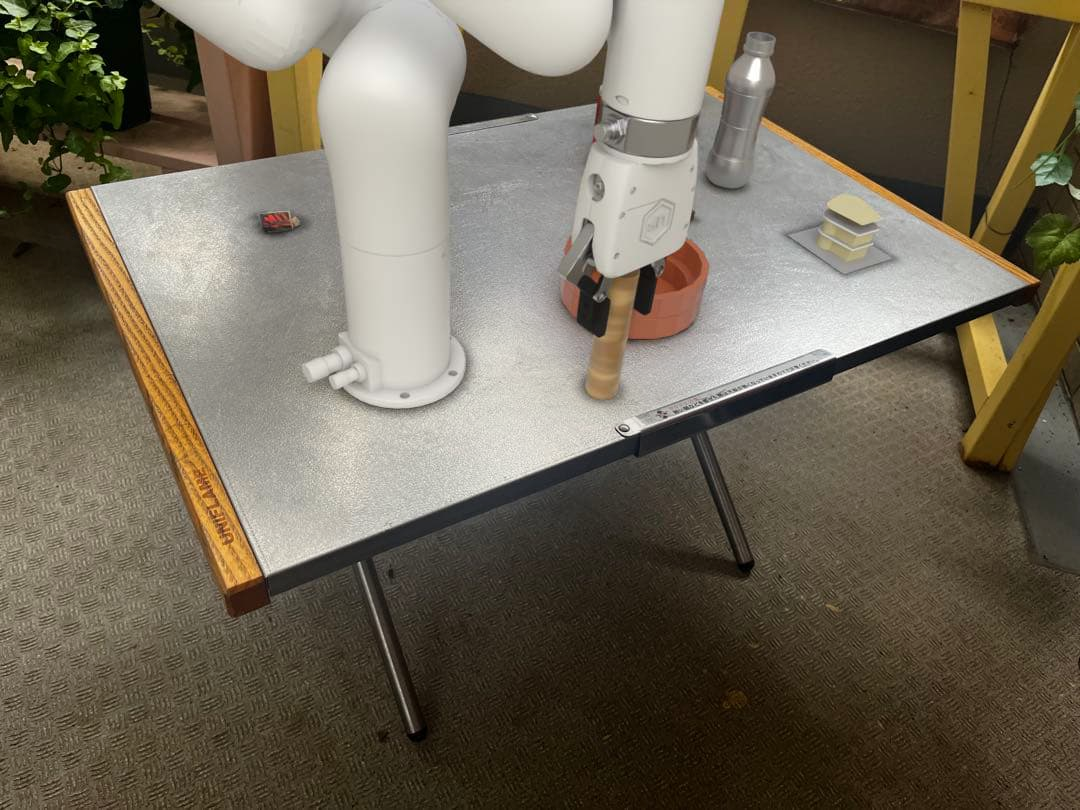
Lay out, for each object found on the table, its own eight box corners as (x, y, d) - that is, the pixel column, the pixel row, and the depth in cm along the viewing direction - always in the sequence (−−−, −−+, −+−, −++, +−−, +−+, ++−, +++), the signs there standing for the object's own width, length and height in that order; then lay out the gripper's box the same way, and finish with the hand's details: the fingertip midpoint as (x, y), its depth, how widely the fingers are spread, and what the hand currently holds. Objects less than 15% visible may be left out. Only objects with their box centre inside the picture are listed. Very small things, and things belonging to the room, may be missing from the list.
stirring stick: (600, 404, 77) (622, 282, 68) (578, 386, 79) (596, 265, 70) (623, 391, 79) (648, 271, 70) (601, 374, 81) (622, 254, 71)
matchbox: (267, 236, 94) (266, 232, 94) (251, 217, 97) (250, 213, 97) (304, 227, 97) (304, 224, 96) (288, 208, 100) (287, 205, 99)
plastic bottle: (721, 197, 111) (759, 48, 98) (692, 176, 116) (725, 30, 102) (757, 189, 114) (798, 43, 100) (727, 169, 118) (763, 26, 105)
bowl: (629, 363, 82) (638, 316, 78) (531, 291, 91) (535, 245, 87) (725, 312, 91) (738, 267, 87) (627, 251, 99) (635, 207, 95)
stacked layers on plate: (892, 258, 102) (909, 220, 99) (843, 274, 99) (859, 235, 95) (835, 222, 109) (849, 184, 105) (787, 235, 105) (799, 197, 101)
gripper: (600, 171, 55) (572, 375, 67) (754, 119, 64) (705, 307, 76) (529, 131, 59) (515, 330, 71) (684, 87, 68) (647, 270, 80)
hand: (613, 316), depth 73 cm, fingers open, 5 cm apart
